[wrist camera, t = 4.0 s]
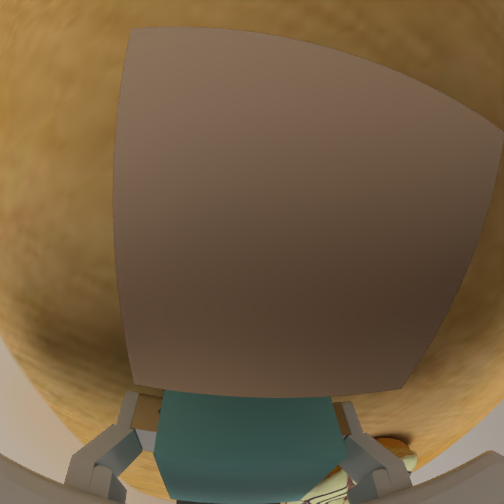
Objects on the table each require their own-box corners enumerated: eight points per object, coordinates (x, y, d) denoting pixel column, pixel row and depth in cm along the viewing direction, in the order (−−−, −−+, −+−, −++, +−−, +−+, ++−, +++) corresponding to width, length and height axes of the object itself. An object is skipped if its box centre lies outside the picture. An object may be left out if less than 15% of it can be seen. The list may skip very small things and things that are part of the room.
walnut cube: (194, 83, 7) (130, 28, 2) (370, 115, 7) (505, 132, 3) (177, 253, 9) (134, 384, 4) (334, 269, 9) (400, 388, 5)
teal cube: (177, 329, 10) (153, 453, 5) (312, 338, 10) (347, 454, 6) (180, 405, 12) (170, 498, 8) (284, 410, 13) (298, 501, 8)
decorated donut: (431, 426, 17) (447, 460, 13) (356, 481, 21) (363, 510, 17) (331, 433, 14) (345, 485, 11) (261, 486, 18) (265, 522, 15)
